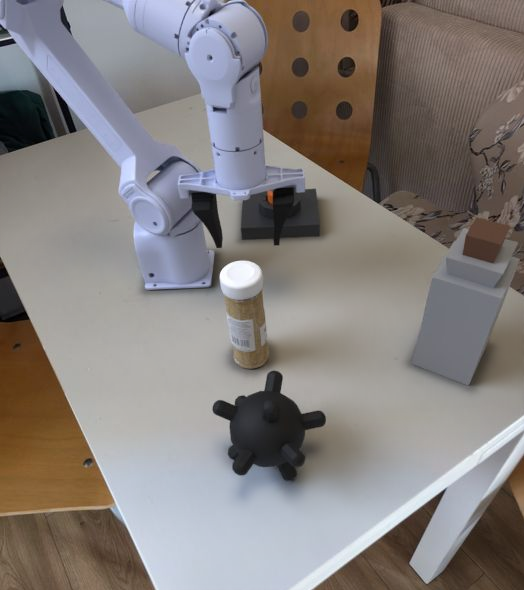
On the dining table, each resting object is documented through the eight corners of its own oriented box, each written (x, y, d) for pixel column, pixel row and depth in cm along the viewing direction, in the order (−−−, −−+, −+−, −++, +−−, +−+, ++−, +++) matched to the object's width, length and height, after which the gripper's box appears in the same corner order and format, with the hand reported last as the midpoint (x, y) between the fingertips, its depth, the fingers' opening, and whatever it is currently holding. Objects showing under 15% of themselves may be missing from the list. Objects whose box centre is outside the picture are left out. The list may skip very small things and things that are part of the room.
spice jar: (277, 355, 64) (271, 270, 54) (250, 376, 62) (239, 293, 52) (251, 337, 66) (241, 253, 56) (225, 357, 64) (209, 273, 54)
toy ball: (295, 368, 59) (364, 422, 50) (253, 447, 60) (313, 513, 51) (221, 344, 52) (286, 402, 43) (177, 433, 54) (230, 507, 45)
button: (267, 207, 80) (267, 197, 78) (267, 194, 82) (267, 184, 81) (291, 205, 79) (290, 195, 78) (290, 193, 82) (290, 183, 80)
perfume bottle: (468, 385, 59) (516, 261, 46) (412, 363, 62) (441, 240, 48) (486, 347, 63) (534, 221, 49) (431, 328, 65) (464, 203, 52)
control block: (242, 240, 80) (239, 217, 77) (244, 203, 87) (242, 182, 84) (319, 236, 80) (320, 214, 77) (315, 200, 86) (316, 178, 83)
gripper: (165, 161, 54) (188, 264, 64) (306, 153, 53) (306, 259, 63) (174, 129, 58) (194, 230, 68) (303, 122, 57) (303, 225, 68)
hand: (248, 242), depth 66 cm, fingers open, 7 cm apart
